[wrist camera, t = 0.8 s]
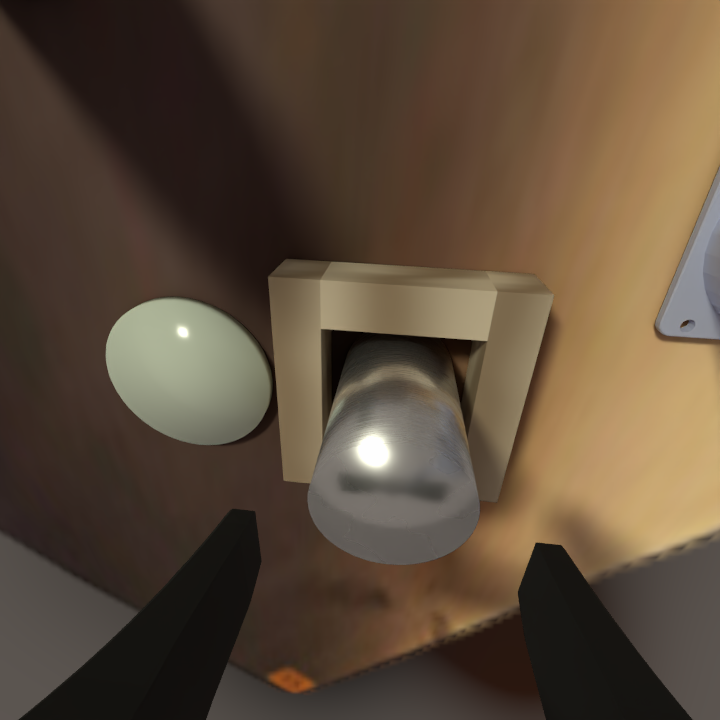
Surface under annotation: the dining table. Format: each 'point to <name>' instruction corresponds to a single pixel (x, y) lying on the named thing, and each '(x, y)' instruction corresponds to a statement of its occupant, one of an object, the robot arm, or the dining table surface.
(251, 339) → the coaster
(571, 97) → the dining table surface
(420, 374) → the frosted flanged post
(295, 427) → the collar
